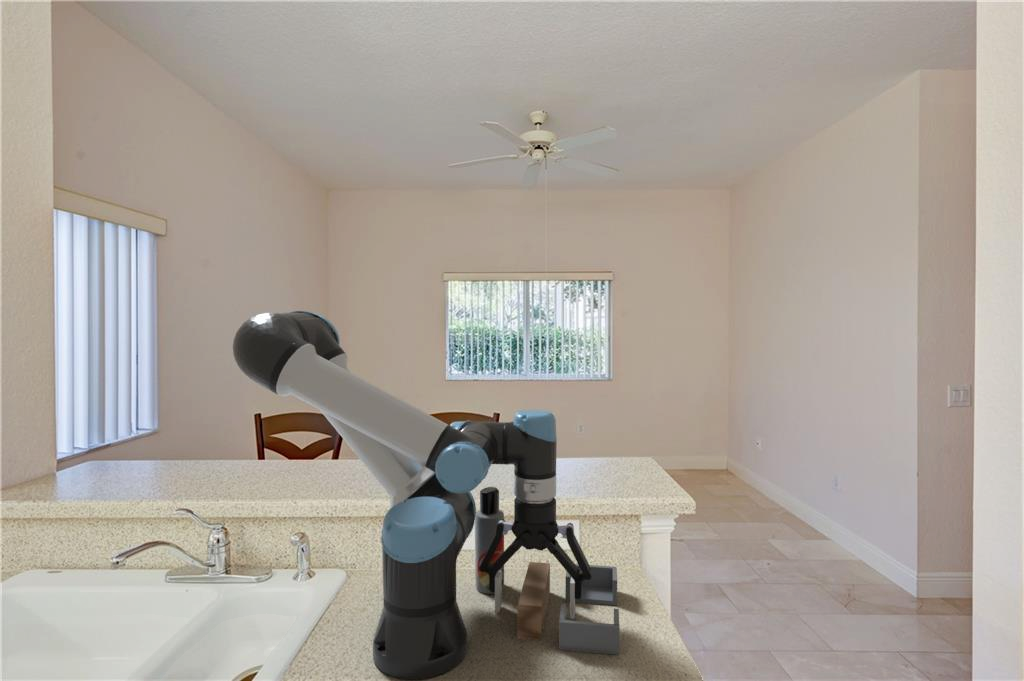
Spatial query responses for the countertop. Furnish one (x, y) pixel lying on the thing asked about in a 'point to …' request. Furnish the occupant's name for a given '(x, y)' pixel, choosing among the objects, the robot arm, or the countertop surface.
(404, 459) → the robot arm
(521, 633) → the slat
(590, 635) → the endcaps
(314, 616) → the countertop surface
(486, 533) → the lotion bottle
